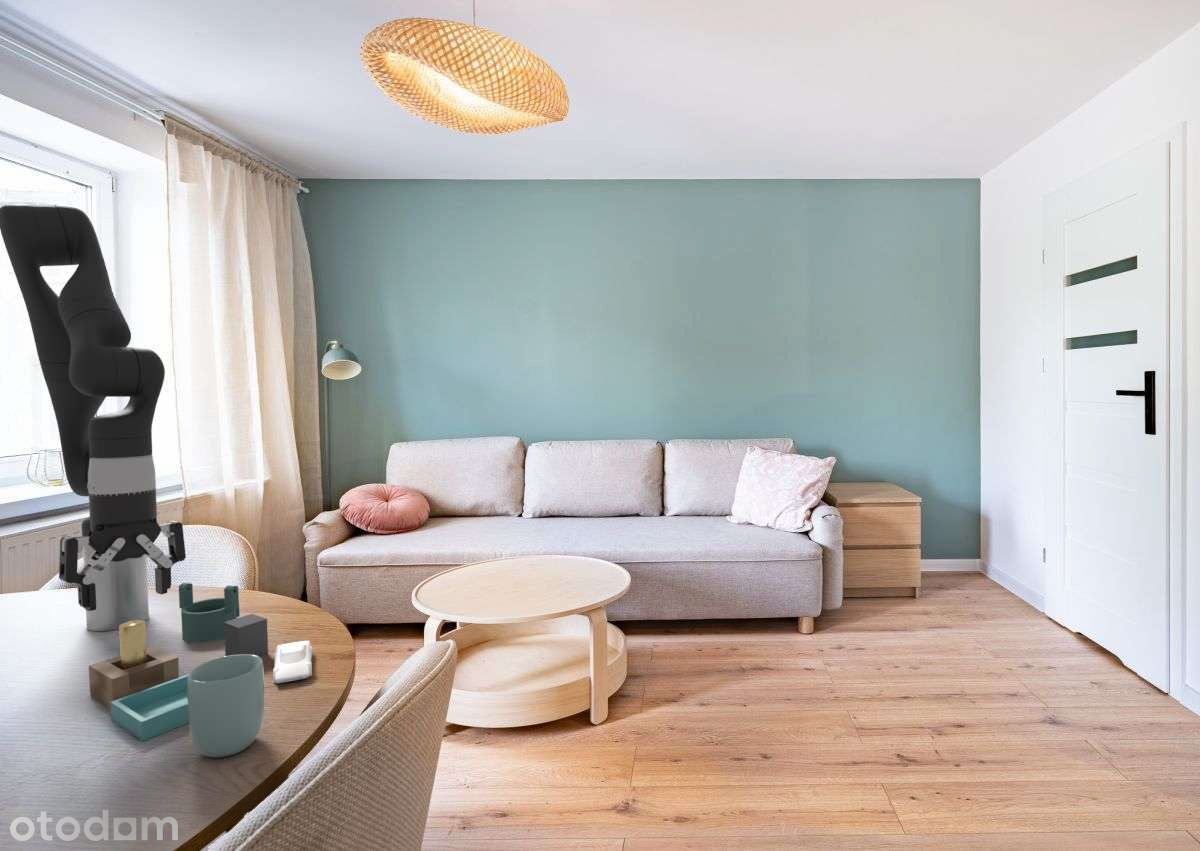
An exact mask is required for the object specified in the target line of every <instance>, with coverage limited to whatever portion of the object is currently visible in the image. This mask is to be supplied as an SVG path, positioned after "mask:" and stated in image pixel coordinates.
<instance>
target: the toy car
mask: <svg viewBox="0 0 1200 851" xmlns="http://www.w3.org/2000/svg"><path fill="white" fill-rule="evenodd" d="M273 657H274V658H273V659H274V668H273V669H272V671H273V672H272V682H273V683H275V684H281V683H287V682H292V681H298V680H303V679H307V678H309V677H312V676H313V668H312V667H313V666H312V657H313V647H312V645H311V641H310V640H301V641H295V642H293V641H292V642H288V643H283V644H278V645H276V647H275V652H274V653H273Z"/></svg>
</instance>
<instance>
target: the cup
mask: <svg viewBox="0 0 1200 851" xmlns="http://www.w3.org/2000/svg"><path fill="white" fill-rule="evenodd" d="M188 674H189V675H188ZM188 674H187V675H188V678H187V701H188V718H189V722H188V724H189V725H188V726H189V727H188V728H189V733H190V736H191V741H192V743H193V746H194V747H195V749H196V751H198V752H199V753H200V754H201V755H202V756H205V757H209V758H224V757H229V756H230V757H231V756H233V755H235V754H238V753H240V752H242V751H244V750H245V749H247V748H248V747H249V746H251V745H252V744H253V742H254V741H255V740H256V739H257V737H258V735H259V733H260V731H261V729H262V725H263V719H264V713H265V679H264V678H265V675H264V662H263V658H262V657H259V656H256V655H249V654H239V655H229V656H225V655H224V656H220V657H216V658H213V659H210V660H207V661H204V662H202V663H200V664H199V665H197V666H195V667H194V668H193V669H192V670H190V672H189V673H188Z"/></svg>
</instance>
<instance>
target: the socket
mask: <svg viewBox="0 0 1200 851" xmlns="http://www.w3.org/2000/svg"><path fill="white" fill-rule="evenodd" d="M146 648H147V663H144V664H141V665H138V666H135V667H132V668H129V669H126V670H121V656H120V655H117V656H114V657H111V658H108V659H105V660H101V661H97V662H95V663H91V664H88V678H89V680H88V681H89V696H90V697H91V698H93V699H94V700H95V701H97V702H98V703H100V704H101V705H103V706H105V707H106V708H107V709H110V710H111V703H110V702H112V701H114V700H117V699H120V698H123V697H126V696H129V695H131V694H134V693H137V692H140V691H143V690H145V689H148V688H151V687H154V686H157V685H159V684H162V683H165V682H168V681H171V680H174V679H176V678H179V677H180V671H179V670H180V669H179V668H180V667H179V666H180V664H179V657H178V656H176V655H174V654H172V653H169V652H168V651H166V650H164V649H162V648H160V647H157V646H155V645H154V644H153V645H150V646H146Z"/></svg>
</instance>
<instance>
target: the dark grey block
mask: <svg viewBox="0 0 1200 851" xmlns="http://www.w3.org/2000/svg"><path fill="white" fill-rule="evenodd" d="M224 633H225V637H224V650H225V652H224V654H225V655H224V656H229V655H239V654H249V655H256V656H259V657H260V658H262V657H265V656H267V655H269V639H268V637H269V636H268V634H269V633H268V618H266V617H263V616H260V615H257V614H255V613H250V614H246V615H244V616H243V615H242V616H239V617H237V618H236V619H233V620H230V621H226V622H224Z"/></svg>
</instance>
